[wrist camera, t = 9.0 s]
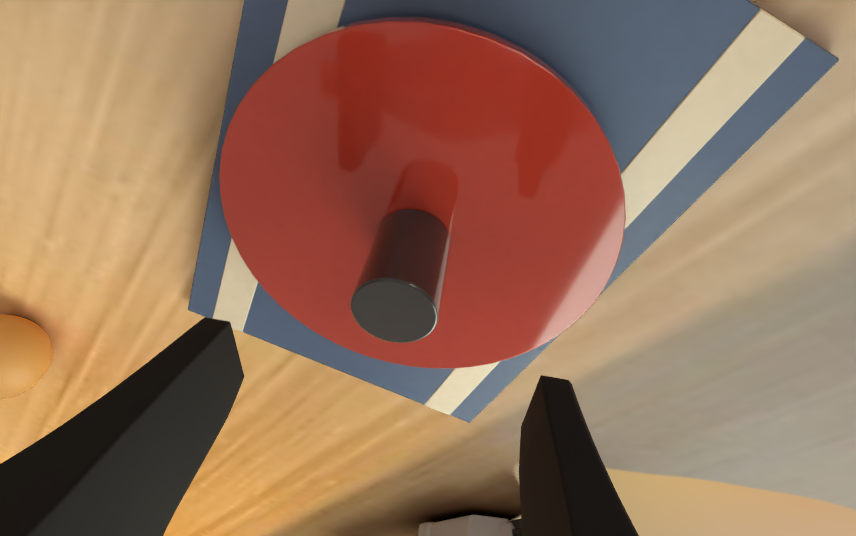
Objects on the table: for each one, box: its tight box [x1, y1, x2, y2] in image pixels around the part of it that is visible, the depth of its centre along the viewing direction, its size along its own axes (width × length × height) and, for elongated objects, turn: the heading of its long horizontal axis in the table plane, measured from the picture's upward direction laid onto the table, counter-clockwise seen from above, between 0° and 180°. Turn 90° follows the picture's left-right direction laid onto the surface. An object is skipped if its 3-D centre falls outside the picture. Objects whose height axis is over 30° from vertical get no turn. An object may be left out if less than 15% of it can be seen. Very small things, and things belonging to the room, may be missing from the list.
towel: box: [188, 0, 839, 423], centre depth 16 cm, size 14×19×1 cm
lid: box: [219, 17, 626, 369], centre depth 15 cm, size 13×13×4 cm
